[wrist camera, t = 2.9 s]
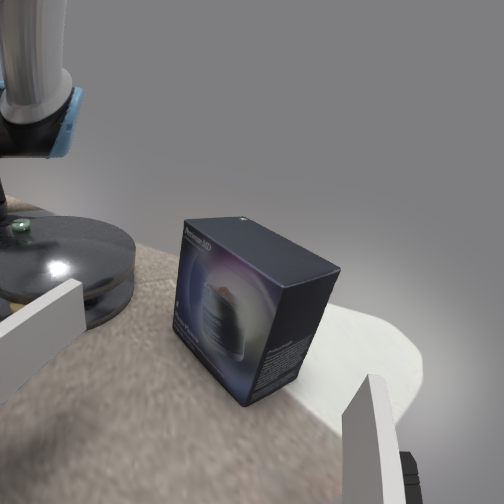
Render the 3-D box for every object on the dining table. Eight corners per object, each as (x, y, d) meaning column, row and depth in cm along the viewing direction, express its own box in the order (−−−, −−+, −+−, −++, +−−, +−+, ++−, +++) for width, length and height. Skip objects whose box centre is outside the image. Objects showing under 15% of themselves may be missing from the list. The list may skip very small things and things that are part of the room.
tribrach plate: (-41, 282, 19) (-50, 237, 17) (55, 236, 35) (55, 201, 34) (59, 367, 17) (46, 309, 15) (161, 276, 33) (166, 234, 31)
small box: (166, 328, 25) (179, 215, 21) (223, 313, 29) (244, 214, 26) (241, 411, 18) (282, 283, 14) (299, 378, 23) (345, 266, 19)
